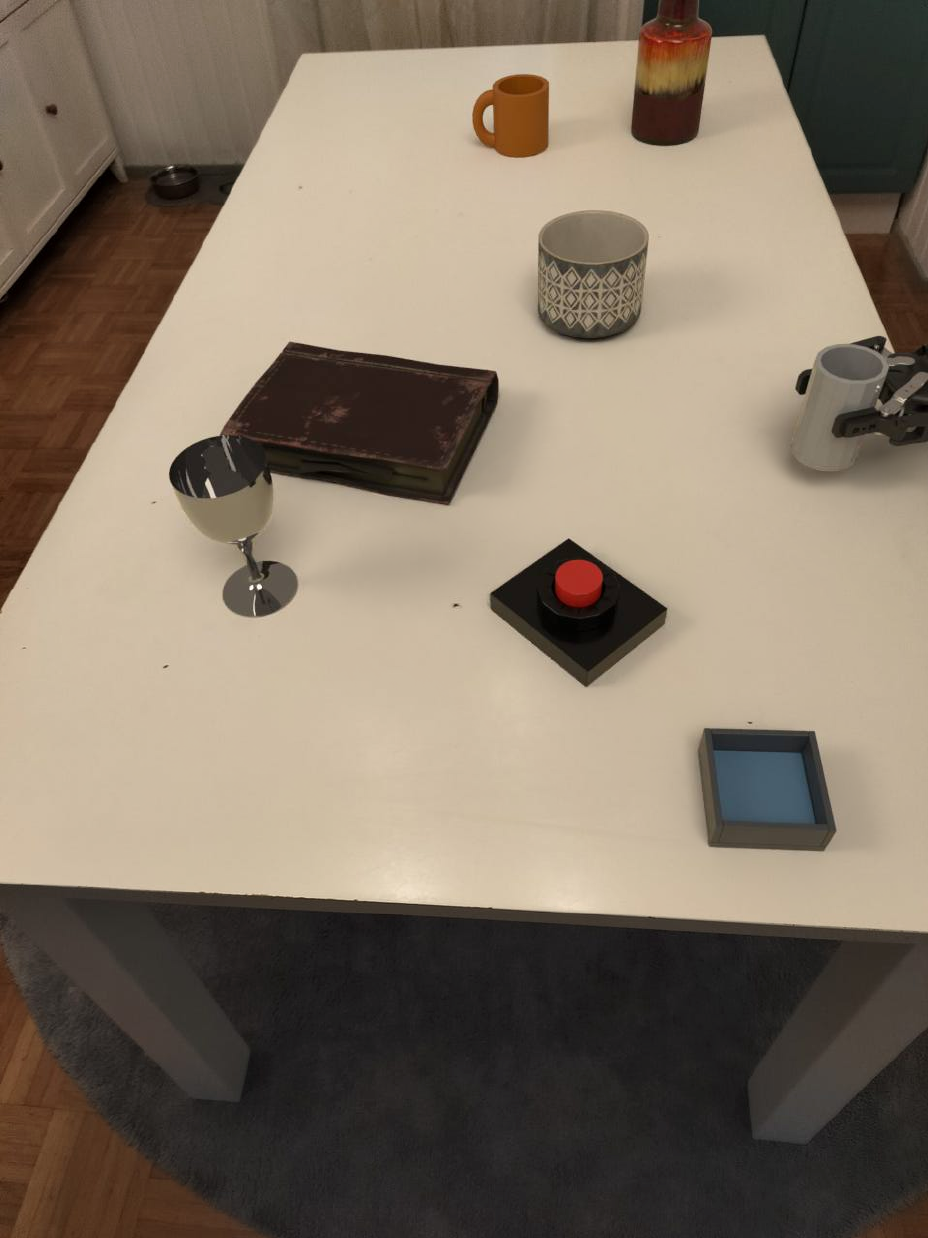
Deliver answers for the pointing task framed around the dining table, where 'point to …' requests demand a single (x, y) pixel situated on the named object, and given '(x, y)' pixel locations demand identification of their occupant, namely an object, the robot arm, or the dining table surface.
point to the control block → (578, 615)
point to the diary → (368, 420)
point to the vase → (671, 74)
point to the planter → (591, 273)
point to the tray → (764, 790)
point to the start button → (578, 583)
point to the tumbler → (836, 404)
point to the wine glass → (234, 516)
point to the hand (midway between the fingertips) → (817, 405)
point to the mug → (515, 115)
